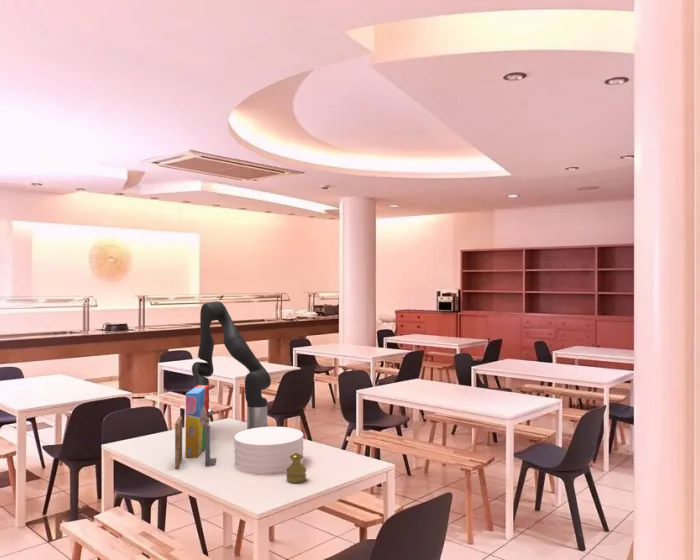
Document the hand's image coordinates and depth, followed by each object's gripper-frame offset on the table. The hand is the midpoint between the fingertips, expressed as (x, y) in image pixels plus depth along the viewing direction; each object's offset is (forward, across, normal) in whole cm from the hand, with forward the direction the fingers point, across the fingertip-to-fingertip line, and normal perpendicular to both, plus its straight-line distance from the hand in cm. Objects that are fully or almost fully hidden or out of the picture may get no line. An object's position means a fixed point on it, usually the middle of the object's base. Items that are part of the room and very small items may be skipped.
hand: (198, 429), depth 256 cm
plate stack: (+29, +31, -19) cm, 46 cm away
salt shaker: (+45, +40, -35) cm, 70 cm away
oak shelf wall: (+25, -5, -16) cm, 30 cm away
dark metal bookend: (+25, +7, -16) cm, 31 cm away
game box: (+13, 0, -3) cm, 13 cm away
